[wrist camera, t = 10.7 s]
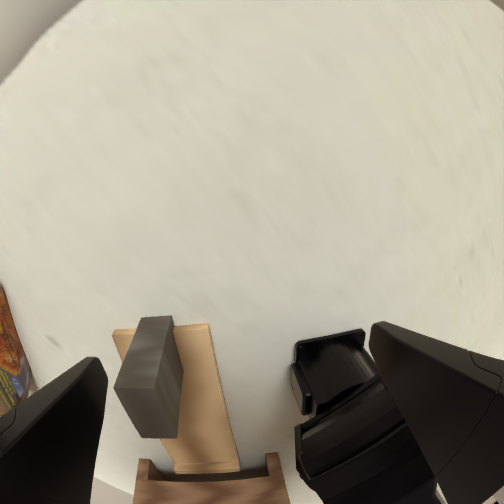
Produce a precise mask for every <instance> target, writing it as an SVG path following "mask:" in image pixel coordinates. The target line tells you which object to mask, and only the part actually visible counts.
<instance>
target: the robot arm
mask: <svg viewBox="0 0 504 504" xmlns="http://www.w3.org/2000/svg"><path fill="white" fill-rule="evenodd" d="M359 334H360V335H359ZM358 335H359V336H358ZM365 335H366V333H365V331H364V330H363V329H356V330H352V331H347V332H343V333H338V334H333V335H328V336H323V337H318V338H313V339H307V340H302V341H298V342H297V343H296V344H295V363H293V364H292V365H291V386H292V389H293V391H294V394H295V397H296V400H297V403H298V406H299V409H300V412H301V414H302V415H309V417H310V420H308V421H306V422H304V423H303V424H299V425H297V426H295V452H296V469H297V471H298V472H299V476H300V478H301V479H303V480H304V482H305V483H306V484H307V485H308V486H309V487H310V488H311V489H312V490H314V491H316V493H317V494H318V495H319V497H320V498H321V500H322V501H323V503H324V504H446V503H445V502H444V500H443V499H442V497H441V496H440V494H439V492H438V491H437V489H436V487H437V482H438V484H439V486H440V488H441V491H442V493H443V495H444V497H445V499H446V501H447V503H448V504H482V503H483V502H485V501H486V500H487V499H488V498H489V497H491V496H492V495H493V496H494V497H495V499H496V501H495V502H494V503H493V504H504V360H500V359H496V358H492V357H488V356H485V355H482V354H478V353H475V352H472V351H468V350H466V349H463V348H460V347H457V346H454V345H451V344H448V343H446V342H443V341H440V340H437V339H434V338H431V337H428V336H425V335H422V334H419V333H416V332H414V331H411V330H408V329H405V328H402V327H399V326H397V325H394V324H391V323H388V322H385V321H381V322H377V323H374V324H373V325H372V327H371V333H370V339H369V349H370V352H371V354H372V356H373V359H374V360H373V359H372V358H371V356H370V355H369V354H368V352H367V351H366V350H365V348H364V341H365ZM300 346H303V347H301V348H299V347H300ZM374 361H375V362H374ZM107 387H108V377H107V374H106V372H105V370H104V368H103V366H102V363H101V361H100V359H99V358H97V357H86V358H84V359H83V360H82V361H80V362H79V363H77V364H76V365H74V366H73V367H71V368H70V369H69V370H67V371H66V372H64V373H63V374H61V375H60V376H58V377H57V378H56V379H54V380H53V381H51V382H50V383H48V384H47V385H46V386H44V387H43V388H41V389H40V390H38V391H37V392H36V393H34V394H33V395H31V396H30V397H28V398H27V399H25V400H24V401H23V402H21V403H20V404H18V405H17V407H14V408H13V409H11V410H10V411H8V412H7V413H5V414H4V415H2V416H1V417H0V504H90V499H91V489H92V482H93V475H94V468H95V462H96V456H97V450H98V445H99V439H100V434H101V430H102V425H103V419H104V412H105V403H106V394H107Z"/></svg>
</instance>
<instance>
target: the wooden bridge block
mask: <svg viewBox="0 0 504 504" xmlns="http://www.w3.org/2000/svg"><path fill="white" fill-rule="evenodd" d="M266 462H267V473H268V476H266V477H259V478H251V479H242V480H230V481H214V482H167V481H166V480H165V479H164V478H163V476H162V475H161V474H160V472H159V471H158V470H157V469H156V467H155V466H154V464H153V463H152V462H151V460H150V459H139V464H138V470H137V477H136V484H135V491H134V499H133V504H290V500H289V497H288V493H287V489H286V485H285V480H284V476H283V472H282V468H281V464H280V460H279V456H278V452H276V453H270V454H266Z"/></svg>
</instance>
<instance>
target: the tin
mask: <svg viewBox="0 0 504 504" xmlns="http://www.w3.org/2000/svg"><path fill="white" fill-rule="evenodd" d="M29 388H30V370H29V364H28V361H27V358H26V355H25V353H24V351H23V348H22V346H21V343H20V340H19V338H18V335H17V332H16V329H15V326H14V323H13V320H12V317H11V313H10V310H9V306H8V303H7V299H6V296H5V294H4V291H3V289H2V288H1V286H0V416H2V415H4V414H5V413H7V412H8V411H10V410H11V409H13V408H14V407H17V405H18V404H20V403H21V402H23V401H24V400H25V399H27V397H28V394H29Z"/></svg>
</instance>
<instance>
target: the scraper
mask: <svg viewBox="0 0 504 504" xmlns="http://www.w3.org/2000/svg"><path fill="white" fill-rule="evenodd" d="M112 337H113V340H114V342H115V345H116V348H117V350H118V353H119V355H120V358H121V360H122V363H123V364H122V366H121V369H120V371H119V374H118V377H117V379H116V382H115V385H114V387H113V388H114V390H115V392H116V394H117V396H118V398H119V400H120V402H121V403H122V405H123V407H124V409H125V411H126V412H127V414H128V416H129V418H130V419H131V421H132V423H133V424H134V426H135V428H136V429H137V431H138V433H139V434H140V436H141V438H158V439H160V440H161V442H162V443H163V445H164V447H165V448H166V450H167V452H168V453H169V455H170V457H171V458H172V460H173V461H174V463H175V465H174V471H175V472H176V474H206V473H225V472H237V471H240V465H239V458H238V454H237V450H236V447H235V443H234V439H233V435H232V431H231V427H230V423H229V418H228V414H227V410H226V406H225V401H224V397H223V392H222V388H221V383H220V379H219V374H218V369H217V364H216V359H215V354H214V349H213V344H212V339H211V334H210V328H209V323H205V324H195V325H184V326H174V324H173V319H172V315H171V316H158V317H145V318H141V320H140V322H139V325H138V327H137V329H123V330H114V332H113V334H112Z"/></svg>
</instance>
